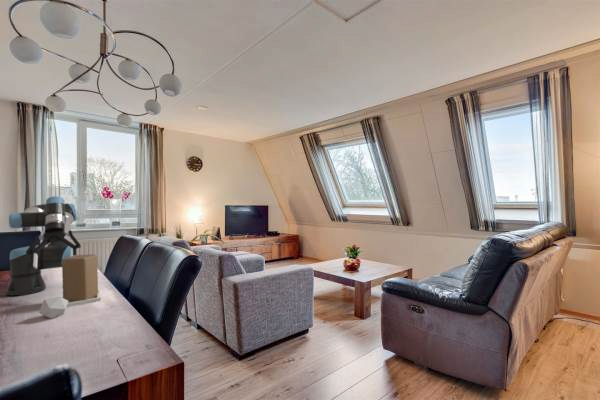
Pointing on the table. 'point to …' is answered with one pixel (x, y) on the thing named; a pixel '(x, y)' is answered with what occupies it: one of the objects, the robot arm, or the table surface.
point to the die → (53, 306)
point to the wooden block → (80, 277)
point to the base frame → (84, 301)
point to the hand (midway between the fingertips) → (54, 264)
